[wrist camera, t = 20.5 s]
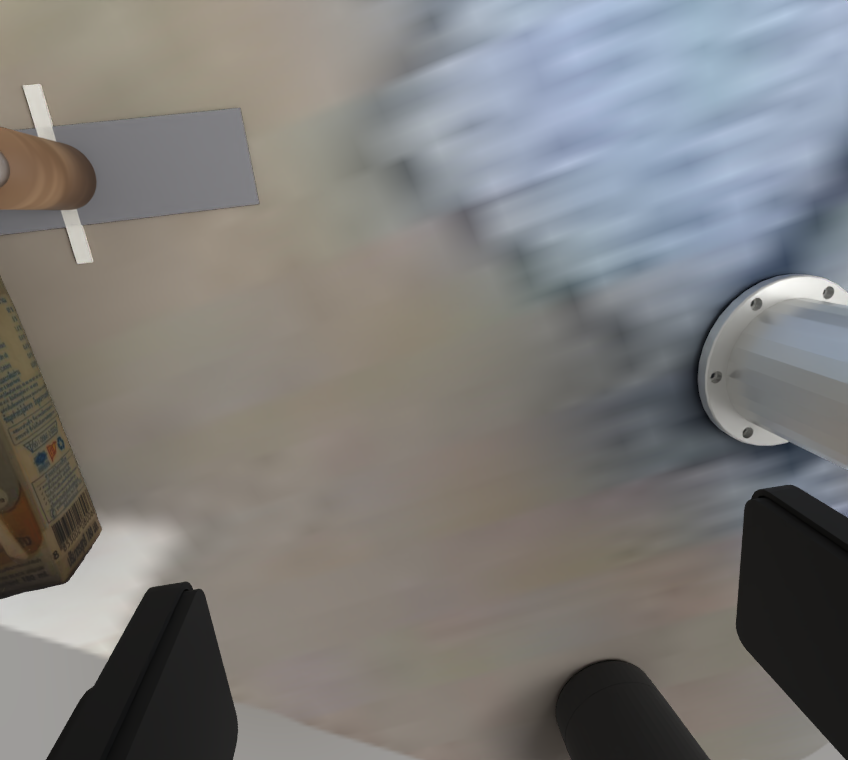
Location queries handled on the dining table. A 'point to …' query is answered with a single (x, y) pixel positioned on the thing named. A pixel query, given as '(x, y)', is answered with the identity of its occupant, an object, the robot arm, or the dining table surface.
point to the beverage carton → (36, 475)
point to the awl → (42, 174)
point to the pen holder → (621, 717)
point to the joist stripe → (144, 168)
